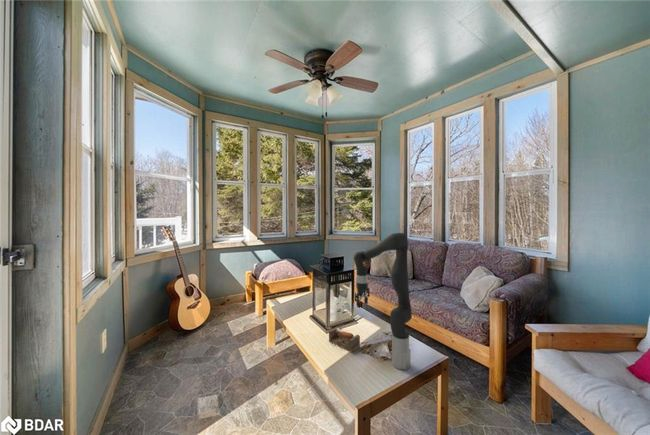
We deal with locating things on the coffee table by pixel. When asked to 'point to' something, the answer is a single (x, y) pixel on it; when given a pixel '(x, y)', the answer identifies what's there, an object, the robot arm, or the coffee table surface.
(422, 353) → the coffee table surface
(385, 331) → the coffee table surface
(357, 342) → the keeper cradle
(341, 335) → the bull figurine
